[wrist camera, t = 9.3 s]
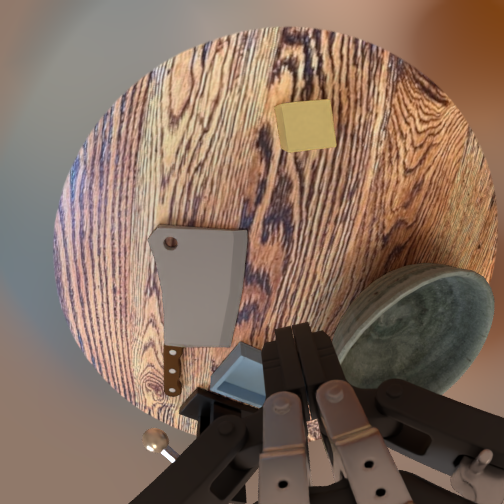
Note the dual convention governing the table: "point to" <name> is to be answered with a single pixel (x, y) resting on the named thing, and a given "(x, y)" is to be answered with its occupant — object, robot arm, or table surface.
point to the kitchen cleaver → (197, 290)
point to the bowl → (415, 327)
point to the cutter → (214, 417)
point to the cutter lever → (159, 443)
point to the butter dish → (241, 376)
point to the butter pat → (305, 125)
